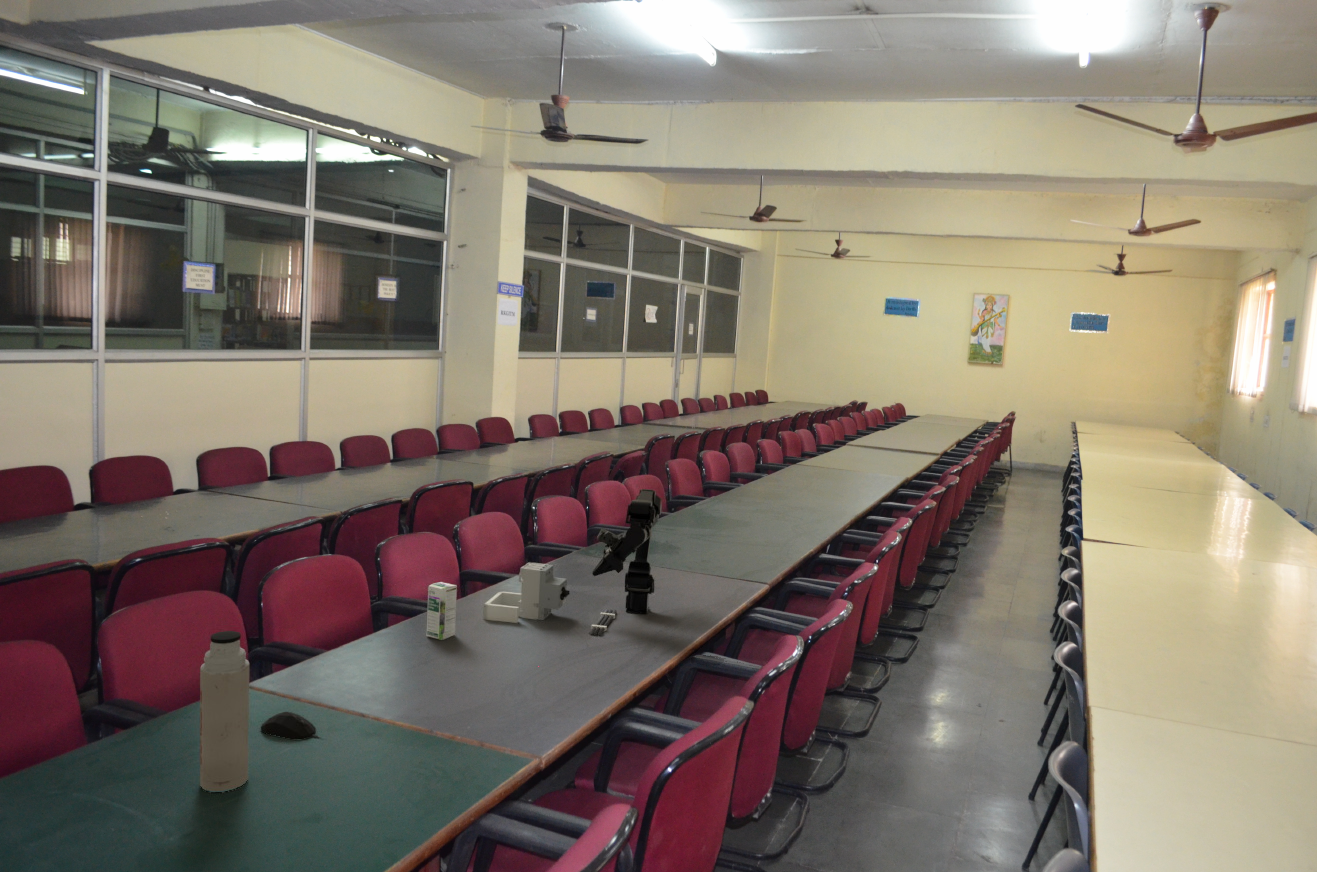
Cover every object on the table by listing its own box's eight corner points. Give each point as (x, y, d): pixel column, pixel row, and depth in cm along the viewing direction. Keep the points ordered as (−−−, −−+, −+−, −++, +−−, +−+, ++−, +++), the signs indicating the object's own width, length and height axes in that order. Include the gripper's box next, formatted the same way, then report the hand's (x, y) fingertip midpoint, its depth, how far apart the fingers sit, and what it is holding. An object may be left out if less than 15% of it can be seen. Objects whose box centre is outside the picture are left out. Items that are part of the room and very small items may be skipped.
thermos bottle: (192, 792, 160) (192, 641, 157) (210, 770, 168) (211, 626, 164) (238, 793, 160) (239, 642, 157) (254, 771, 168) (256, 627, 165)
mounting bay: (531, 608, 276) (532, 594, 276) (516, 622, 262) (517, 607, 262) (499, 605, 278) (499, 591, 277) (483, 619, 264) (483, 604, 263)
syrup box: (425, 636, 246) (427, 585, 245) (440, 630, 252) (441, 580, 250) (441, 640, 244) (443, 588, 242) (455, 634, 249) (457, 584, 247)
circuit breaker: (562, 622, 265) (565, 573, 263) (517, 616, 268) (519, 568, 266) (570, 615, 272) (572, 567, 271) (525, 609, 275) (528, 562, 273)
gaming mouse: (313, 746, 180) (314, 727, 180) (254, 733, 185) (254, 714, 184) (334, 734, 186) (334, 715, 186) (275, 721, 190) (276, 703, 190)
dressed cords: (618, 612, 277) (618, 609, 277) (602, 636, 255) (602, 632, 255) (604, 611, 278) (604, 607, 278) (587, 634, 256) (587, 630, 256)
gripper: (613, 514, 277) (576, 547, 277) (613, 527, 258) (573, 562, 259) (637, 540, 278) (600, 573, 279) (639, 554, 260) (599, 590, 260)
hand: (593, 574), depth 269 cm, fingers closed
